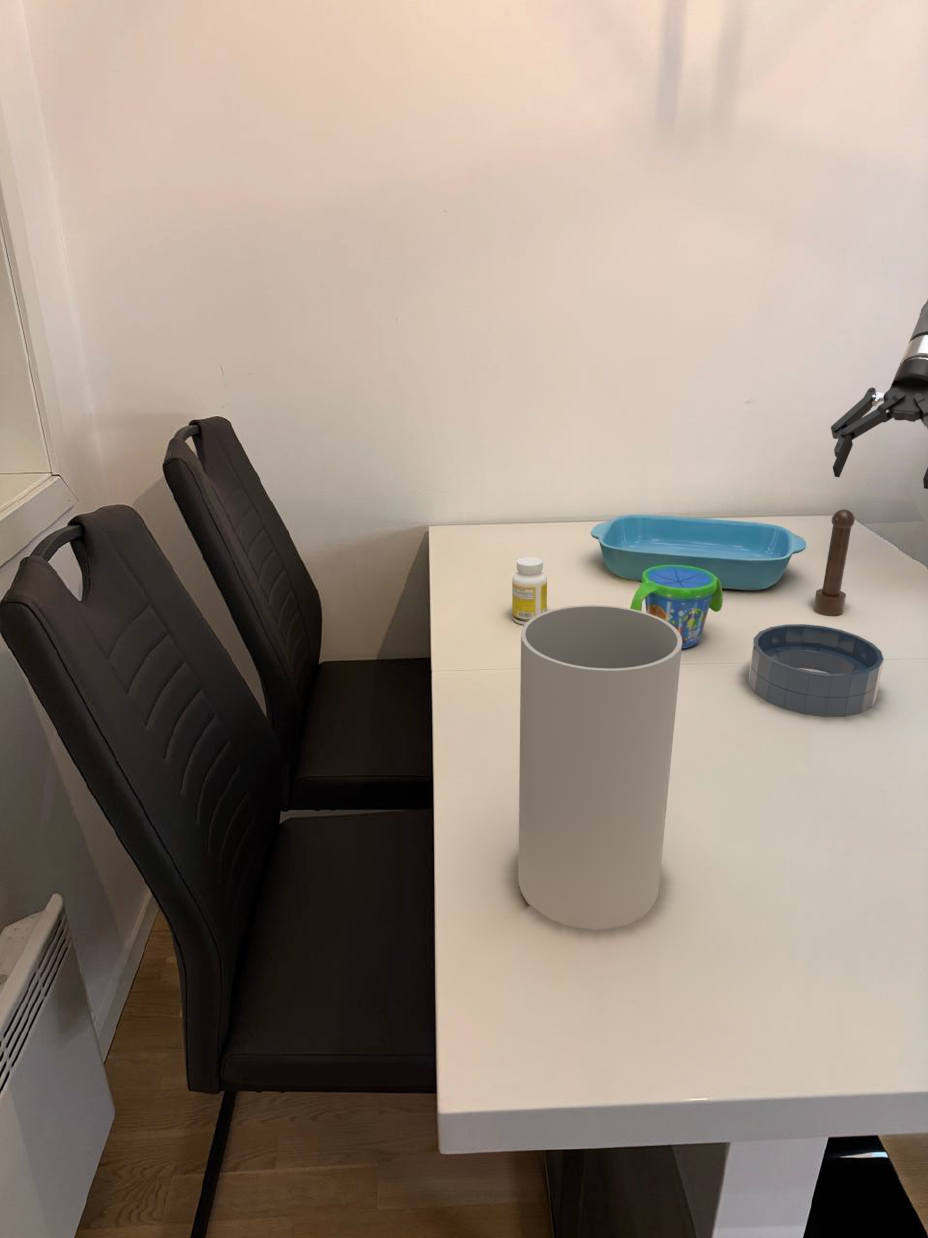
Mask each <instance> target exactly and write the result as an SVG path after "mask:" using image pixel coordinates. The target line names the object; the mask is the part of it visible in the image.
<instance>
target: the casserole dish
mask: <svg viewBox="0 0 928 1238" xmlns="http://www.w3.org/2000/svg"><path fill="white" fill-rule="evenodd" d="M590 536H591V537H592V538H593V539H595V540H598V543H599V546H600V551H601V554H602V558H603V560H604V563H605V565H606V568H607V569H608V570H609V572H611V573H612V574H614V575H616V576H617V577H619V578H621V579H624V580H625V579H626V580H630V581H636V582H642V574H643V572H644V571H645V570H647V569H649V568H651V567H655V566H661V565H684V566H691V567H696V568H700V569H703V570H706V571H708V572H710V573H712V574H713V575H715V576H716V577H717V578H719V581H720V582H721V587H722V590H723V589H726V590H737V591H760V590H761V591H762V590H765V589H767V588H770V587H771V586H773V585H775V584H776V583H778V582H779V580H781V578H782V577H783V575H784V573H785V571H786V569H787V567H788V565H789V562H790V560H791V558H792V556H793V555H795V554H799V553H802V552H804V551H805V549H806V548H807V542H806V540H805V538H803V537H802V536H800V535H797V534H795V533H793V532H792V531H791V530H790V529H788V528H787V527H784V526H781V525H777V524H772V523H766V522H758V521H757V522H756V521H744V520H743V521H742V520H731V519H717V518H716V519H714V518H702V517H687V516H674V515H660V514H659V515H657V514H626V515H619V516H616V517H613V518H612V519H610V520H608V521H605V522H601V523H598V524H596V525H595V526H593V528H592V529H591V531H590Z"/></svg>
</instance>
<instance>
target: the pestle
mask: <svg viewBox="0 0 928 1238" xmlns="http://www.w3.org/2000/svg"><path fill="white" fill-rule="evenodd" d="M855 520H856V518H855V515H854V513H853V512H852V511H850V510H849V509H846V508H845V509H843V508H842V509H839V510H837V511H836V512H834V513H833V515H832V517H831V524H832V529H831V534H830V541H829V545H828V547H829V548H828V554H827V559H826V564H825V566H826V567H825V571H824V572H825V573H824V577H823V584H822V588H819V589H816V590H815V594H814V595H815V597H814V601H813V608H812V610H813V611H814V612H815V613H817V614H820V615H822V616H829V617H838V616H841V615H843V614H844V609H845V603H846V598H847V593H845V592H844V591H842V590H841V589H842V583H843V578H844V573H845V566H846V561H847V555H848V549H849V543H850V538H851V537H850V536H851V531H852V527H853V526H854V524H855V522H856V521H855Z"/></svg>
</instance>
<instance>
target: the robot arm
mask: <svg viewBox="0 0 928 1238" xmlns="http://www.w3.org/2000/svg"><path fill="white" fill-rule="evenodd" d="M876 390H877V389H876V388H875V387H869V388H868V389H867V390H866V392H865V394H864V396H863V397H862V398H861V399H860V400H859V401H858V402H857V403H856V404H854V405H853V406H852V407H851V408H850V409H849V410H848V411H847V412H845V414H843V415H842V416H841V417H840V418H839V419H838V420H837V421H835V422H834V423H833V424H832V425H831V426H830V431H831V435H832V439H834V440H837V442H836V444H835V446H834V448H833V453H834V457H835V460H834V463H833V465H832V471H833V475H834V477H835V478H841V475H842V472H843V470H844V467H845V465H846V463H847V460H848V458H849V455H850V453H851V452H852V448H853V446H854V444H853V440H855V439H857V438H858V437H860V436H862V435H864V434H865V433H867V432H868V431H870V430H872V429H873V428H875V427H877V426H879V425H880V424H882V423H885V424H886V422H888V421H891V420H892V419H894V421H907V422H912V423H915V422H917V421H919V420H920V421H921V423H922V424H923V426H924V427H926V429H928V298H927V299H926V301H925V303H924V304H923V305H922V307H921V309H920V312H919V317H918V319H917V322H916V325H915V327H914V329H913V331H912V335H911V337H910V339H909V342H908V344H907V346H906V349H905V351H904V353H903V355H902V358H901V360H900V363H899V366H898V368H897V370H896V373H895V374H894V377H893V380H892V382H891V385H890V387H889V389H888V390H887V391H885V392H881V391H876ZM880 402H882V403H880ZM879 403H880V404H879ZM878 404H879V405H878ZM877 405H878V406H877ZM876 406H877V408H876V409H874V410H872V409H873V407H876ZM871 410H872V411H871ZM870 411H871V412H870ZM922 483H923V489H925V490H928V467H927V468H926V470H925V473H924V476H923V478H922Z"/></svg>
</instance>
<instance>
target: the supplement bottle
mask: <svg viewBox="0 0 928 1238" xmlns="http://www.w3.org/2000/svg"><path fill="white" fill-rule="evenodd" d="M543 570H544V561H543V560H542V558H540V557H534V556H525V557H521V558H518V559H517V560H516V571H517V572H515V573H514V574H513V576H512V578H511V579H512V581H511V582H512V583H511V588H512V590H511V591H512V593H511V595H512V596H511V598H512V599H511V600H512V603H511V605H512V620H513V621H514V622H515V623H517V624H519V625H522V626H524V625H525V624H526V623H527V622H528V621H529V620H530V619H532V618H533V617H535V616H537V615H539V614H541V613H544V612H546V611H548V577H547V575H546V574H545V573H544V572H542V571H543Z"/></svg>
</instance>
